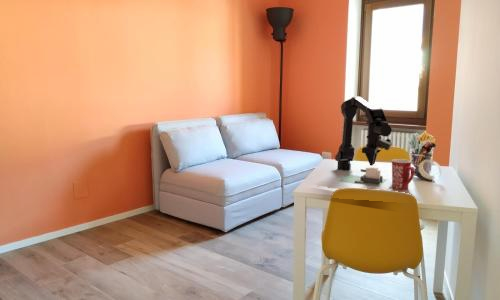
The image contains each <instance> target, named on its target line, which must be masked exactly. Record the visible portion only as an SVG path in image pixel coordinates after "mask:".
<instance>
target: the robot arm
mask: <svg viewBox="0 0 500 300" xmlns="http://www.w3.org/2000/svg"><path fill="white" fill-rule="evenodd" d="M358 109H359V110H361V111H362V112H363V113H364V116H365V118H367V121H366V125H367V124H368V125H367V127H368V128H367V135H366V139H367V143H366V144H365V146H363V147H362V148H361V153H362V154H364V155H365V157H366V158H367V161H368V163H369V166H370V167H373V165H375V164H376V160H377V157H378V154H379V153H380V152H382V150H383V149H384V150H385V151H389V150H390V149H391V147H392V144H393V142H392V140H391V138H387V139H384V138H382V137H389V136H390V135H391V134H392V131H393V130H392V127H391V125H390V124H389V122H388V121H387V117H386V115H385V113H384V110H383V109H382V108H381V107H379V106H375V105H372V104H371V103H370V102H368V101H367V100H365V99H364V98H363V97H362V96H353V97H351V98H349V99H347V100H345V101H343V102H342V103H341V105H340V110H341V114H342V117H343V126H342V141H341V142H342V143H341V144H340V146H339V147H338V151H337V153H336V155H335V156H334V161H335V162H337V167H336V168H337V170H341V171H350V170H351V169H352V163H351V162H353V161H354V157H355V147H354V146H353V145H352V139H353V138H352V136H353V124H354V117H356V115H357V113H358ZM381 149H382V150H381Z"/></svg>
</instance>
